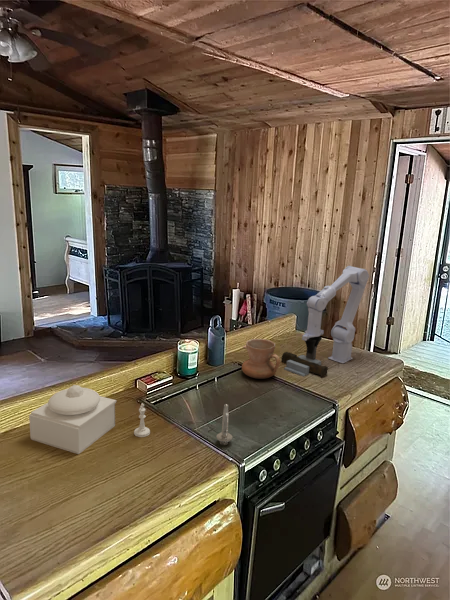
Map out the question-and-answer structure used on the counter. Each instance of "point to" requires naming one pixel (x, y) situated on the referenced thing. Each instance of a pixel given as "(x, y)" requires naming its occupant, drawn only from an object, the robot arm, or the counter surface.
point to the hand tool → (312, 366)
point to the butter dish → (72, 419)
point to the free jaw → (311, 357)
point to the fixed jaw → (297, 368)
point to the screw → (224, 428)
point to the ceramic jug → (260, 359)
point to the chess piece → (142, 424)
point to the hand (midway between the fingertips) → (311, 352)
